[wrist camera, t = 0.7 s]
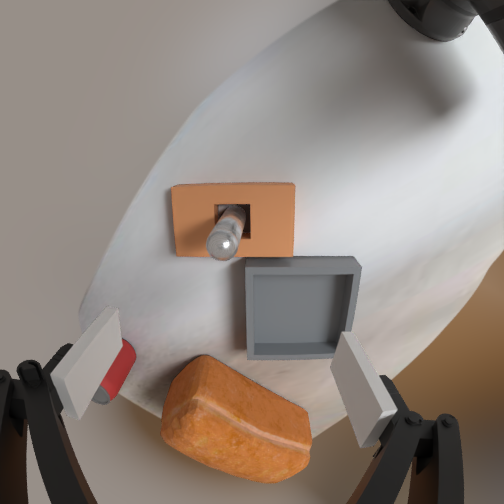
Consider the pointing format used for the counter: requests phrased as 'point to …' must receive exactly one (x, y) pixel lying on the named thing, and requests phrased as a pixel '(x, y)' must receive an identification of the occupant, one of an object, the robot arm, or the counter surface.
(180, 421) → the bread
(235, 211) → the pin
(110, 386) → the beer can
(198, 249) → the orange block with hole
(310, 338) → the tray
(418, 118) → the counter surface
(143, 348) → the counter surface
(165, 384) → the counter surface
